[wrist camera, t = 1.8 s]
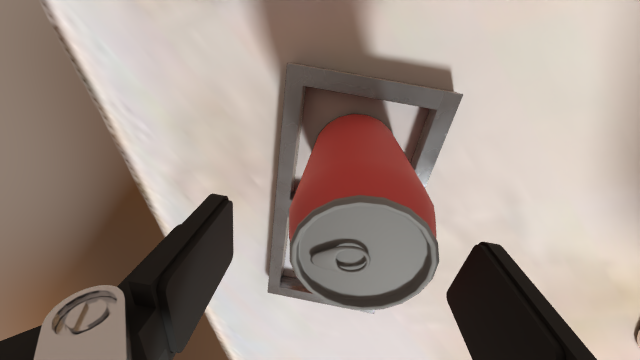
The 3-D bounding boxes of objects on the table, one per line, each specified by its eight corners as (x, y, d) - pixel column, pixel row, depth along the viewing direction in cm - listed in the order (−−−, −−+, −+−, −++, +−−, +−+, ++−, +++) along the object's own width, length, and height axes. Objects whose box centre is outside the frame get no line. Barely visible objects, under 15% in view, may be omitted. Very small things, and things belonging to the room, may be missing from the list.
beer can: (310, 115, 19) (259, 188, 8) (397, 108, 18) (471, 181, 7) (318, 189, 22) (289, 317, 11) (394, 187, 21) (443, 323, 10)
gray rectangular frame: (454, 91, 17) (463, 94, 16) (372, 301, 27) (373, 313, 26) (291, 62, 17) (287, 63, 16) (271, 281, 28) (267, 292, 26)
